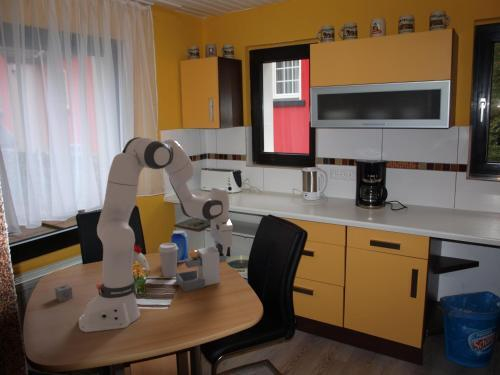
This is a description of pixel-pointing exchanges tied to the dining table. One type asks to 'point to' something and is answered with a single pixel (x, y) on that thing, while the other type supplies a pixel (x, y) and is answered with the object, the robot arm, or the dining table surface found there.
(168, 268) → the coffee cup
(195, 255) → the copper ball
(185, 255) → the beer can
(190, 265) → the shaft
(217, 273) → the block
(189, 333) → the dining table surface
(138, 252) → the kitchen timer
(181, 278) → the tray
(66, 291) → the grey cube with hole
